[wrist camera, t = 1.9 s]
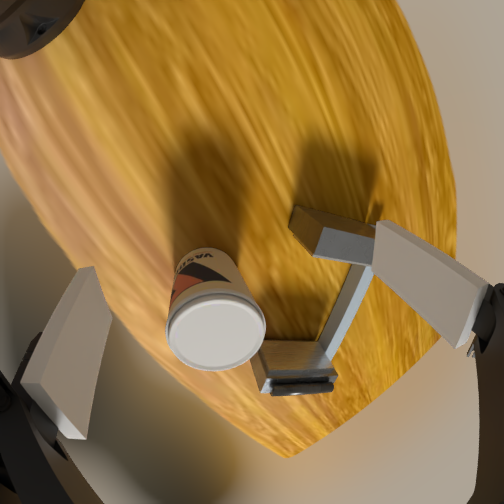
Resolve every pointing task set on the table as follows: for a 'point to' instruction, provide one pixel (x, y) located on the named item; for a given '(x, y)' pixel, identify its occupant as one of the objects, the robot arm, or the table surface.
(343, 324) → the back rail
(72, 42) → the table surface
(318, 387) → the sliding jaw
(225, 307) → the coffee cup
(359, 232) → the block
